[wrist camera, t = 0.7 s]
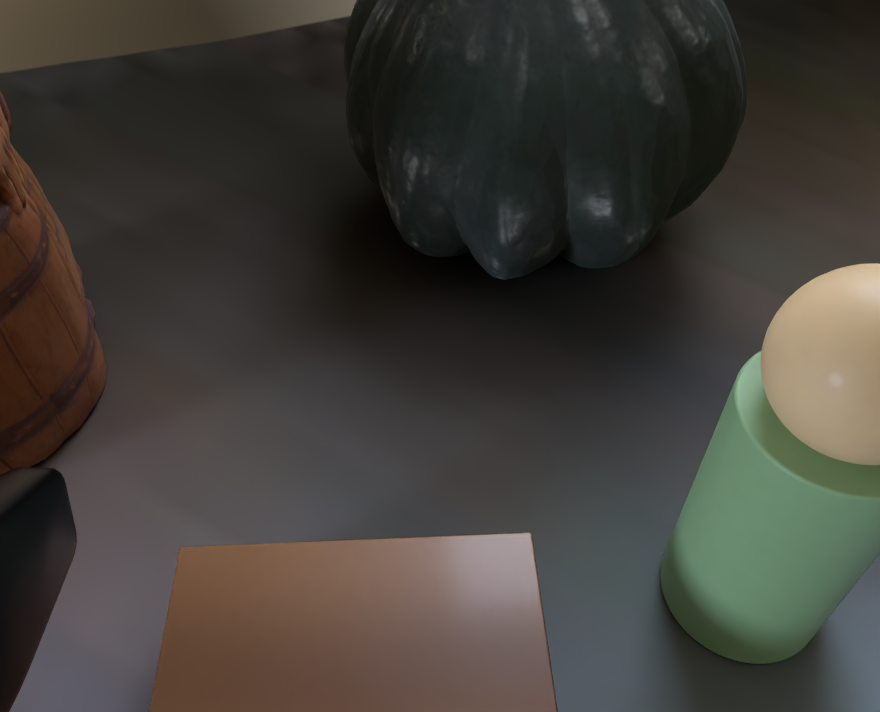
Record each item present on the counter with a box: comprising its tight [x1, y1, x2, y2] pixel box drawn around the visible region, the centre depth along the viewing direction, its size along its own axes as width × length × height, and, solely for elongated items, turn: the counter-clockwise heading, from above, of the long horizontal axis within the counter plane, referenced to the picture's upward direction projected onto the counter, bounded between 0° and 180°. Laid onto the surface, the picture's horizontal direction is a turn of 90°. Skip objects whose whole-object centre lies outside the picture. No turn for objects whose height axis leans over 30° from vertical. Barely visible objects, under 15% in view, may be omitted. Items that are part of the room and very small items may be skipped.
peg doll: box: [660, 264, 880, 664], centre depth 19 cm, size 4×4×12 cm
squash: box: [344, 0, 746, 280], centre depth 31 cm, size 14×15×15 cm
